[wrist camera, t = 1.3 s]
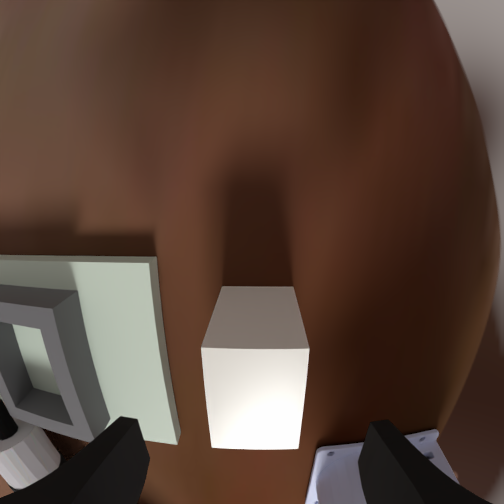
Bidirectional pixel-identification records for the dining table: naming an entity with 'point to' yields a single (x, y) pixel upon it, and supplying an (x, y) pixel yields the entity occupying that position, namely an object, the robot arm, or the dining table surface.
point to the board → (85, 345)
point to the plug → (255, 368)
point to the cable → (25, 452)
